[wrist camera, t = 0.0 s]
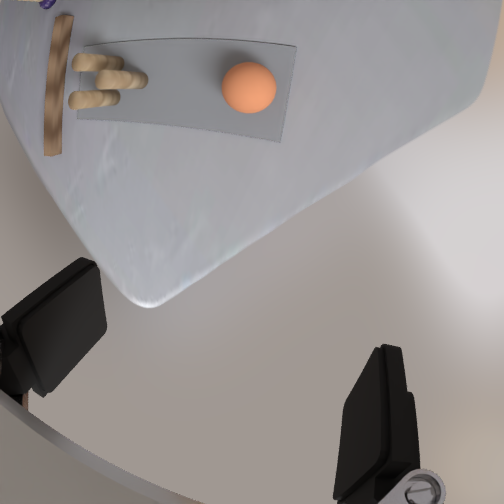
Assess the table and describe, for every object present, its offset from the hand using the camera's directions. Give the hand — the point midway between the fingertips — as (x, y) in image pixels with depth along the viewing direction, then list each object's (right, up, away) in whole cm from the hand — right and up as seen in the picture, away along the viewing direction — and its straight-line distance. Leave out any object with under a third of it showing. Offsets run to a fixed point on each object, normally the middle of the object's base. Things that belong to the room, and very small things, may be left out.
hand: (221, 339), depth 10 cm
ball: (+1, +21, +22) cm, 30 cm away
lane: (-10, +25, +27) cm, 38 cm away
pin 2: (-19, +25, +29) cm, 43 cm away
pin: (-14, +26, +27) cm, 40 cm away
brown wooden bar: (-30, +30, +30) cm, 52 cm away
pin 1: (-18, +29, +27) cm, 44 cm away
